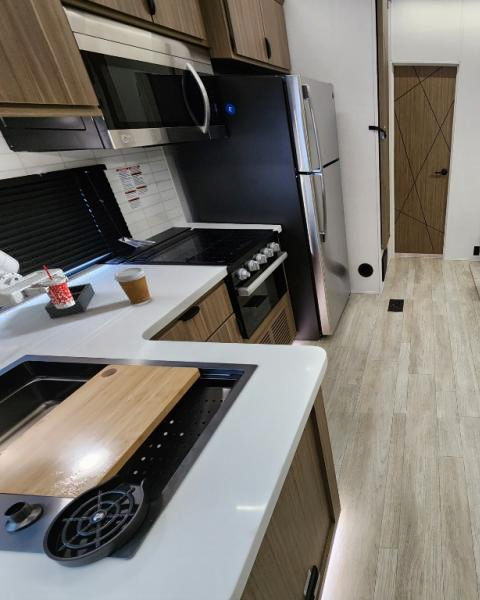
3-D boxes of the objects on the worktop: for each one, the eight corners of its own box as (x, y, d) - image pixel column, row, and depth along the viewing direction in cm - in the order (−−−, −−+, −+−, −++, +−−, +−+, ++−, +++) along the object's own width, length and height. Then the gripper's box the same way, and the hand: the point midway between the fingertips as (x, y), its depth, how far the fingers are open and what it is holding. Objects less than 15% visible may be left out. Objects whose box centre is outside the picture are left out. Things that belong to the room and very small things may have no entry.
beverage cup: (82, 300, 111) (62, 261, 105) (71, 308, 106) (49, 268, 100) (60, 302, 110) (38, 263, 103) (48, 311, 105) (24, 270, 98)
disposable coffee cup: (152, 292, 137) (141, 265, 131) (157, 299, 131) (146, 271, 125) (124, 299, 131) (111, 272, 125) (128, 308, 125) (115, 279, 119)
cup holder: (51, 318, 119) (44, 307, 117) (65, 298, 133) (59, 288, 130) (84, 312, 123) (78, 301, 121) (95, 293, 137) (90, 283, 135)
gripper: (41, 282, 114) (85, 280, 115) (-17, 311, 96) (35, 308, 97) (31, 265, 111) (76, 263, 112) (-31, 292, 93) (24, 289, 94)
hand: (57, 284), depth 105 cm, fingers closed on beverage cup, 6 cm apart
